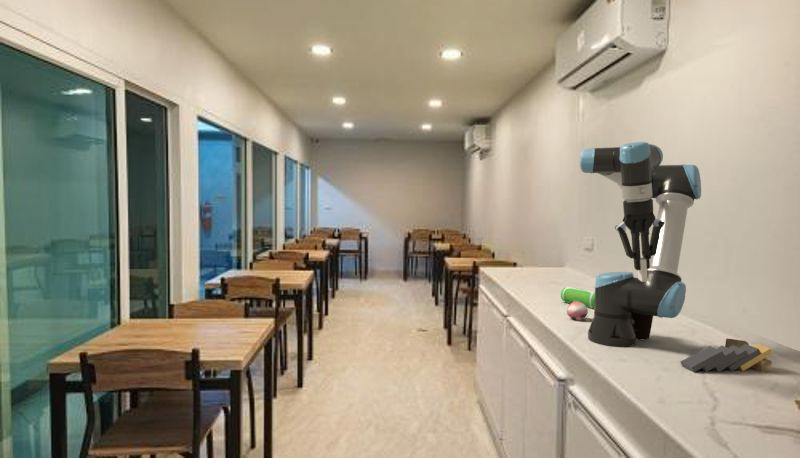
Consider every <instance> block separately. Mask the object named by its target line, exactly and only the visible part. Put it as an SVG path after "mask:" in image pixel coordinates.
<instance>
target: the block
mask: <svg viewBox="0 0 800 458" xmlns="http://www.w3.org/2000/svg"><path fill="white" fill-rule="evenodd" d="M772 363H773V362H772V360H771V359H768V358H764V359H762V360H761V361H759V362H757V363H756V364H754V365H752V366H751V367H750V368H752V369H753V370H757V371H759V372H763V373H764V371H768V372H772Z"/></svg>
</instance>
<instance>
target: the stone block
mask: <svg viewBox="0 0 800 458" xmlns="http://www.w3.org/2000/svg"><path fill="white" fill-rule="evenodd" d="M745 344H747V345H750V344H749V342H748V341H746V340H742V339H733V338H726V339H725V345H724V347H727V348H729V347H731V346H732V345H734V346H736V347H739V348H740V347H741V346H743V345H745Z"/></svg>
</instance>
